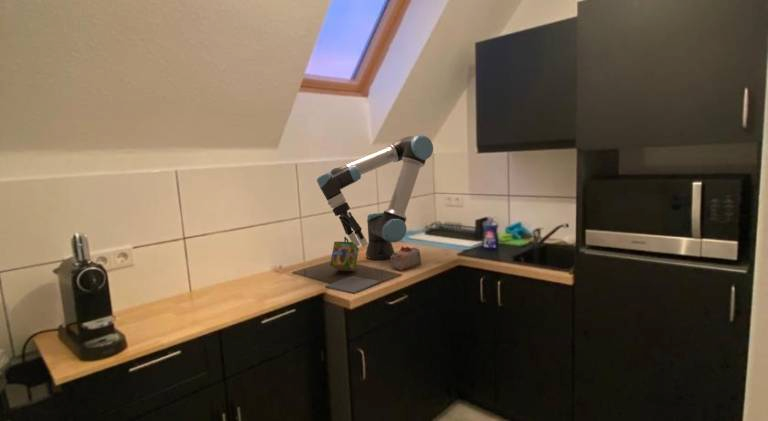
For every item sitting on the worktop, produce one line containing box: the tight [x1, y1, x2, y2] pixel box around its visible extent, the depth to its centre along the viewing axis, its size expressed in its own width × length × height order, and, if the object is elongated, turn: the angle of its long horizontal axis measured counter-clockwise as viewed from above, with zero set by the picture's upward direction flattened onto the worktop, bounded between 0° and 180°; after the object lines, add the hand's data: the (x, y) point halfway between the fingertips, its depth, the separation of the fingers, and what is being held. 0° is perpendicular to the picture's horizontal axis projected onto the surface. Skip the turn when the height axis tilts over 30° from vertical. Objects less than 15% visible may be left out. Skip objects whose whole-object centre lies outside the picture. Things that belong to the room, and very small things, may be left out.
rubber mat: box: [324, 275, 381, 295], centre depth 175 cm, size 16×16×1 cm
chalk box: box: [329, 236, 360, 272], centre depth 195 cm, size 9×9×15 cm
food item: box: [390, 246, 422, 272], centre depth 198 cm, size 14×8×10 cm, turn 129°
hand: (361, 245), depth 194 cm, fingers open, 13 cm apart
